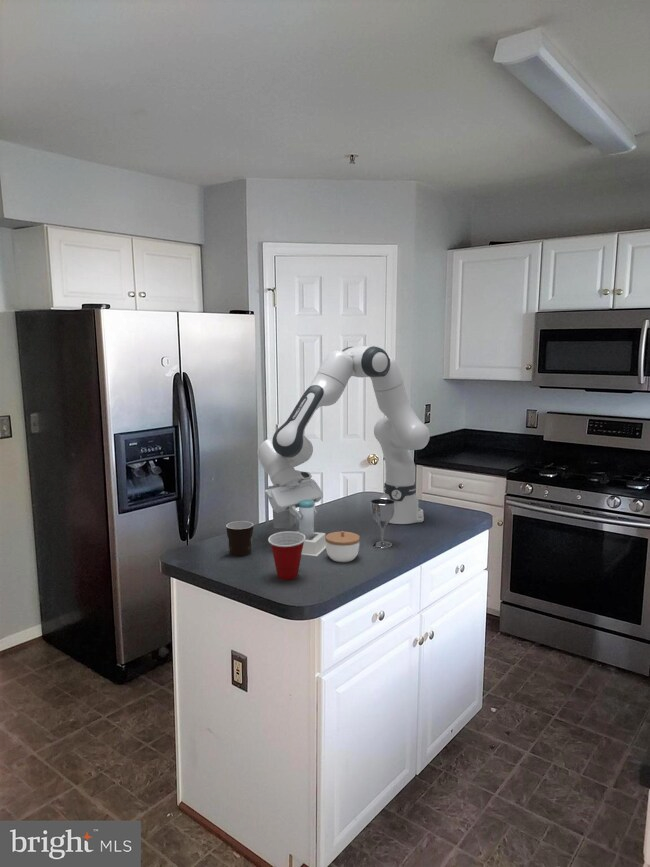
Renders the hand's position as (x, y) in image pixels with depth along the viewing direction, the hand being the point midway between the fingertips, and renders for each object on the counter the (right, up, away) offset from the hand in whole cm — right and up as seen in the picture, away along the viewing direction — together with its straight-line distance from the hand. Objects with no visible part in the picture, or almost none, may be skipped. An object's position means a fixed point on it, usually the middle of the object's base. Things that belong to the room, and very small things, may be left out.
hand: (307, 516), depth 196 cm
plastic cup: (-5, -15, -20) cm, 26 cm away
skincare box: (-10, -8, +27) cm, 30 cm away
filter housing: (-1, -11, +2) cm, 11 cm away
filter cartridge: (0, -7, +2) cm, 7 cm away
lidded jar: (+11, -13, -7) cm, 18 cm away
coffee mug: (-21, -12, -1) cm, 24 cm away
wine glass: (+25, -11, +8) cm, 28 cm away
